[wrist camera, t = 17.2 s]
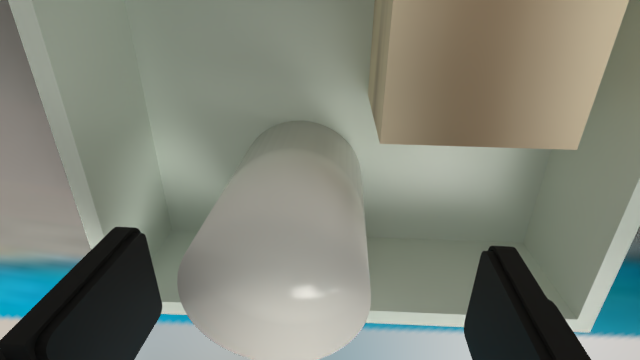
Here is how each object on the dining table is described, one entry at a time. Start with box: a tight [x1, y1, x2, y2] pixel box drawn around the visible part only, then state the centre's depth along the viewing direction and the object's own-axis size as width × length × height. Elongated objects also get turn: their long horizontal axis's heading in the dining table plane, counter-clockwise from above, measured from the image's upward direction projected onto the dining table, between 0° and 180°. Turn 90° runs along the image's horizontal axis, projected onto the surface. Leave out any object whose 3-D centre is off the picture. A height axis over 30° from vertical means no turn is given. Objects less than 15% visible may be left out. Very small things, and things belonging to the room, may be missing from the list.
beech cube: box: [368, 0, 629, 150], centre depth 11 cm, size 5×5×5 cm
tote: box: [8, 0, 640, 333], centre depth 13 cm, size 17×13×5 cm
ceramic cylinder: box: [177, 121, 371, 360], centre depth 13 cm, size 5×5×7 cm
